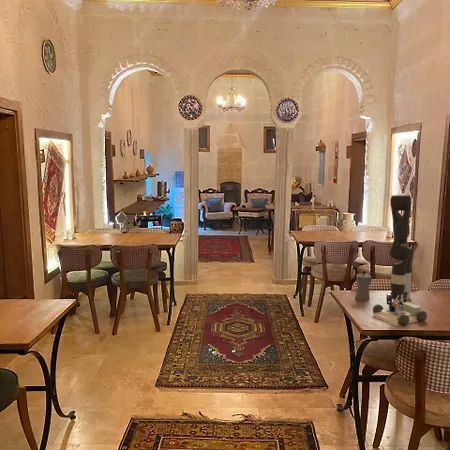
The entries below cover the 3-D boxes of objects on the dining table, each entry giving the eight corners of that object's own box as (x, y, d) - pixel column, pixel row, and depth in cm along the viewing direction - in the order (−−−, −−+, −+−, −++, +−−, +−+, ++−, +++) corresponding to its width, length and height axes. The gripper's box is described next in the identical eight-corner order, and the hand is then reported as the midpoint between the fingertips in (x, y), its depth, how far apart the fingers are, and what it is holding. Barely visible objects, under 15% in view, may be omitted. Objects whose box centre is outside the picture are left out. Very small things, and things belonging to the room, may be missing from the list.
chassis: (398, 309, 261) (399, 298, 260) (427, 320, 244) (428, 308, 243) (371, 315, 251) (371, 303, 250) (399, 327, 233) (400, 314, 232)
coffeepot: (362, 302, 273) (364, 274, 270) (349, 298, 281) (351, 271, 278) (376, 297, 283) (378, 270, 280) (364, 294, 290) (365, 267, 287)
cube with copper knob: (395, 312, 249) (396, 300, 248) (403, 315, 245) (404, 303, 244) (388, 314, 247) (389, 302, 246) (396, 317, 242) (397, 305, 241)
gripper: (401, 278, 249) (399, 307, 252) (383, 281, 243) (381, 310, 245) (412, 282, 243) (410, 311, 245) (394, 285, 236) (392, 315, 239)
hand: (395, 311), depth 245 cm, fingers open, 6 cm apart
